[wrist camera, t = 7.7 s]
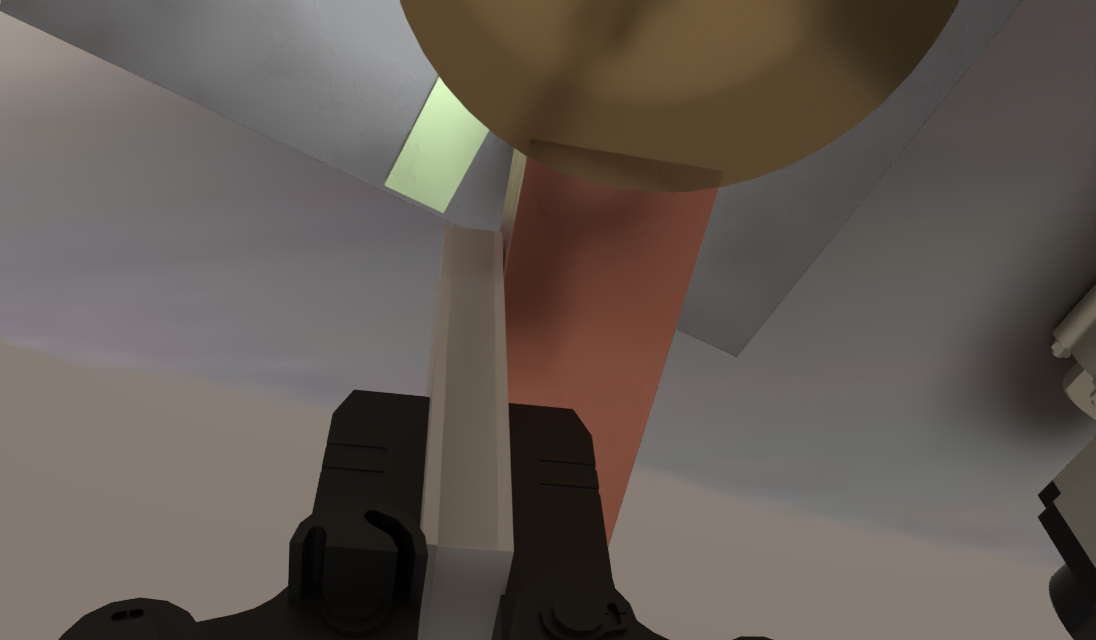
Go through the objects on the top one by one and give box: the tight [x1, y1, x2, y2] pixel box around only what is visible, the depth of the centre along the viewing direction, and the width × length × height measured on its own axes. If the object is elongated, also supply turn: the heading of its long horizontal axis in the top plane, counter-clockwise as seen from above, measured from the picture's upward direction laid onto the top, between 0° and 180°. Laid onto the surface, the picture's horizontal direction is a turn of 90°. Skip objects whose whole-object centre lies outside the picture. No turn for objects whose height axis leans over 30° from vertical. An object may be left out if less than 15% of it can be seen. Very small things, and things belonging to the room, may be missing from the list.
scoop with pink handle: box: [400, 0, 960, 546], centre depth 14 cm, size 14×7×3 cm, turn 170°
